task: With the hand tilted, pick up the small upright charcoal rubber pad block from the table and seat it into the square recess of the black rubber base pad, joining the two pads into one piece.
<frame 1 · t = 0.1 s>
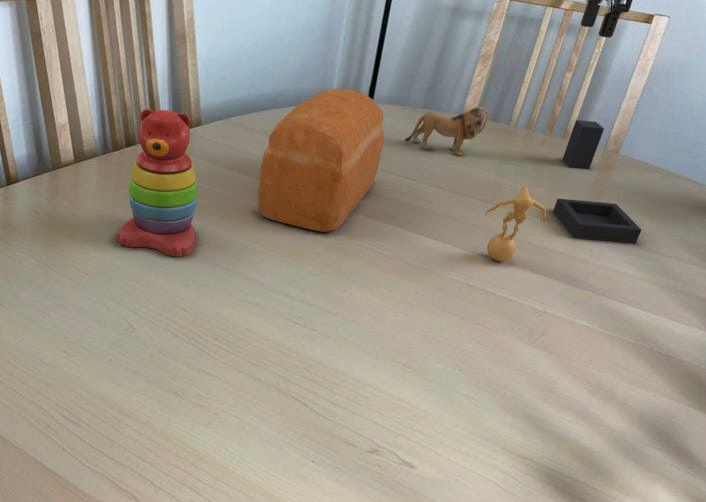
hand: (595, 31, 132), 24 cm above the table, tool pointing down, fingers open, 8 cm apart
figurine: (498, 264, 108), on the table
stacking bear: (160, 238, 106), on the table
base pad: (593, 227, 122), on the table
lion figurine: (442, 149, 148), on the table
pad block: (575, 164, 147), on the table
bread: (318, 198, 122), on the table
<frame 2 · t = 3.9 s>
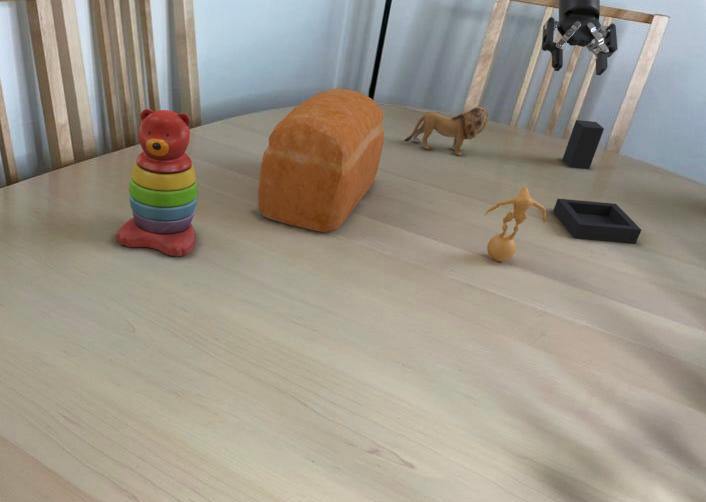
hand: (579, 71, 148), 15 cm above the table, tool tilted 45°, fingers open, 8 cm apart
nothing on the table moved.
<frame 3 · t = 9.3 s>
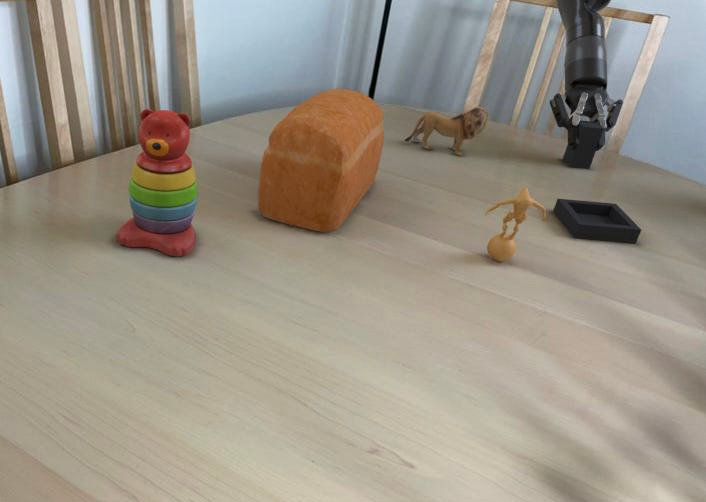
hand: (586, 147, 143), 4 cm above the table, tool tilted 45°, fingers closed on pad block, 4 cm apart
pad block: (575, 164, 147), on the table, touching gripper
everything else where it was.
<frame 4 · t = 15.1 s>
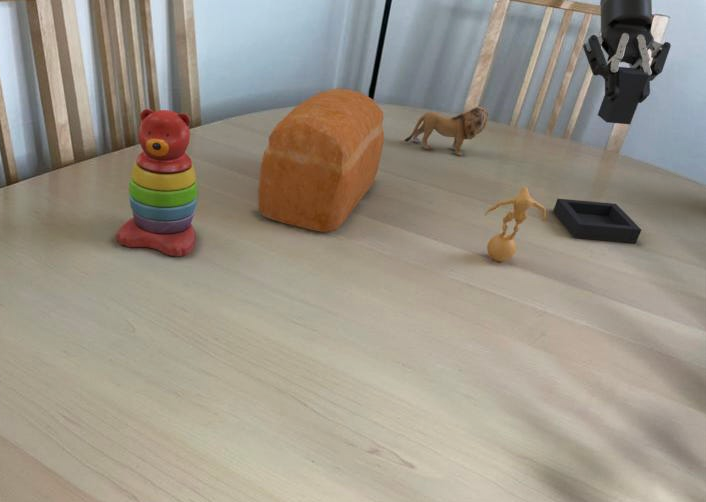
hand: (627, 98, 121), 18 cm above the table, tool tilted 45°, fingers closed on pad block, 4 cm apart
pad block: (613, 119, 125), point 14 cm above the table, touching gripper
everything else where it was.
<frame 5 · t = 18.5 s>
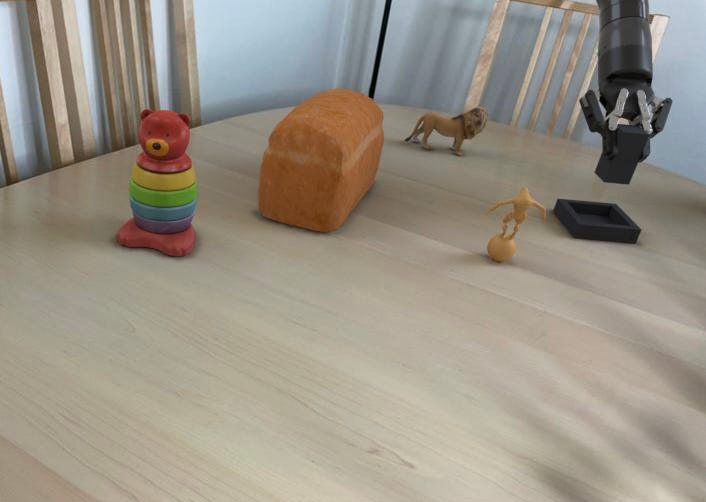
hand: (626, 158, 113), 12 cm above the table, tool tilted 45°, fingers closed on pad block, 4 cm apart
pad block: (611, 178, 117), point 8 cm above the table, touching gripper
everything else where it was.
when the fingers open (5 cm above the table, at t = 21.0 s): pad block stays where it is, resting on base pad.
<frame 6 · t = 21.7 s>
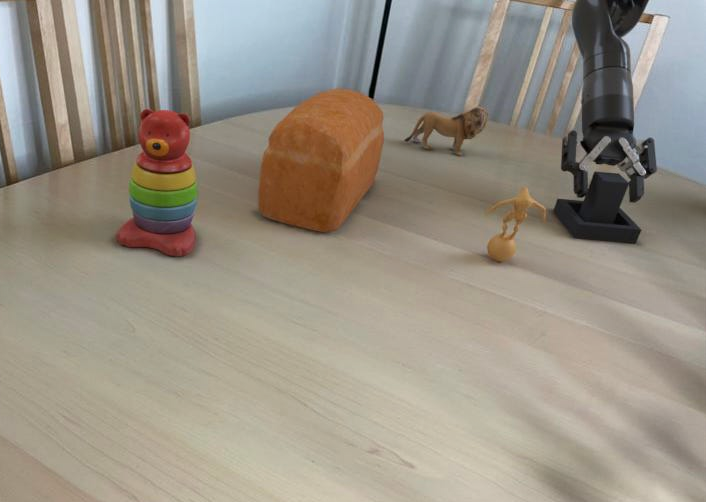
hand: (609, 198, 117), 6 cm above the table, tool tilted 45°, fingers open, 8 cm apart
pad block: (593, 223, 121), point 1 cm above the table, touching base pad
everything else where it was.
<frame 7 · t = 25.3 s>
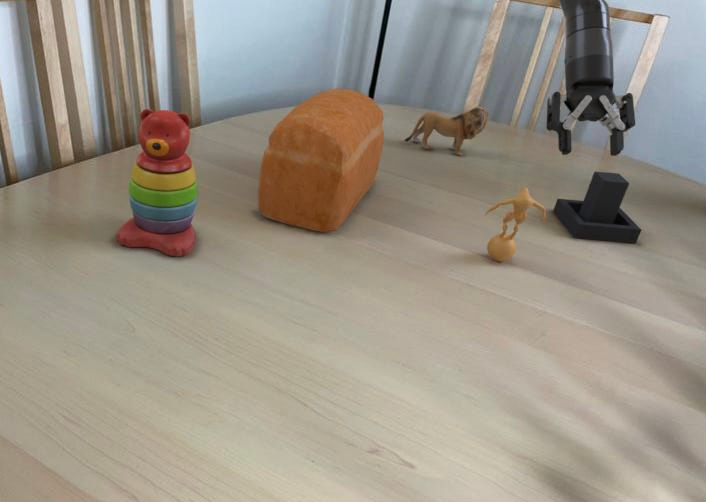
hand: (591, 154, 128), 8 cm above the table, tool tilted 40°, fingers open, 8 cm apart
nothing on the table moved.
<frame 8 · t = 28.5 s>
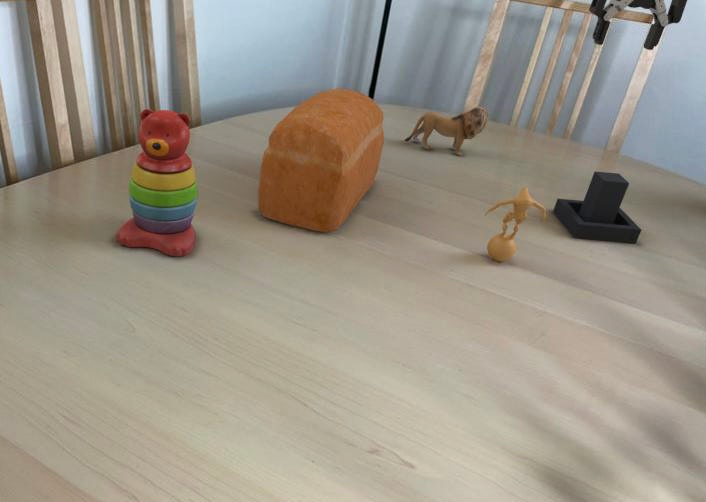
hand: (622, 46, 125), 24 cm above the table, tool pointing down, fingers open, 8 cm apart
nothing on the table moved.
at the end: pad block 0.1 cm off-centre on the base pad, point 0.6 cm above the base pad's base; pad block tilted 0°; the gripper is holding nothing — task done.
